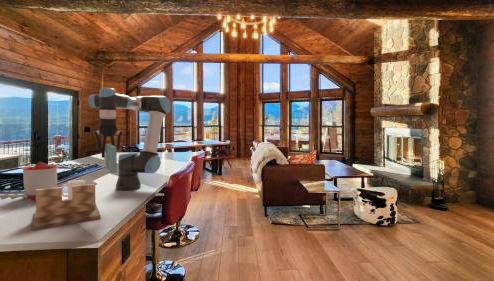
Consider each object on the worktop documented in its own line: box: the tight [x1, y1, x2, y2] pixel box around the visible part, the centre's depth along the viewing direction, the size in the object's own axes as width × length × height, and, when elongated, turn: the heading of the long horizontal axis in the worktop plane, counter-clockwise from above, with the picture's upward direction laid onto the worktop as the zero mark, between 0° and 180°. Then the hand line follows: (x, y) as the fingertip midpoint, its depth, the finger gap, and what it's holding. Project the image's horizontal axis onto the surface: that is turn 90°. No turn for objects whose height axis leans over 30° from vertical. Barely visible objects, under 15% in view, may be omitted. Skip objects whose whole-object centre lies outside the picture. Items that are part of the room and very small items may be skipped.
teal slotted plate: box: [104, 143, 118, 174], centre depth 130 cm, size 2×20×12 cm, turn 35°
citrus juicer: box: [22, 161, 58, 200], centre depth 149 cm, size 16×17×20 cm
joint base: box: [30, 183, 102, 231], centre depth 119 cm, size 24×24×14 cm
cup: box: [60, 179, 86, 199], centre depth 144 cm, size 8×12×10 cm
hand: (108, 163), depth 136 cm, fingers closed on teal slotted plate, 2 cm apart
